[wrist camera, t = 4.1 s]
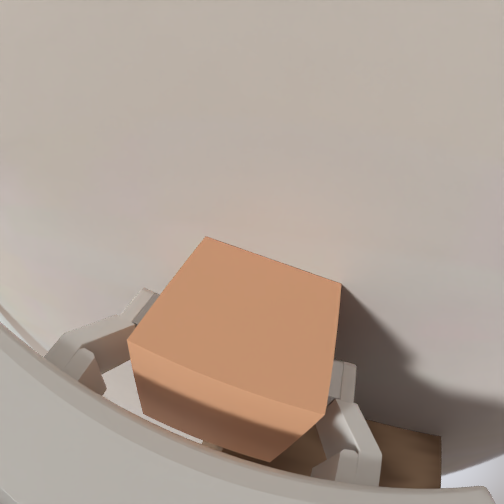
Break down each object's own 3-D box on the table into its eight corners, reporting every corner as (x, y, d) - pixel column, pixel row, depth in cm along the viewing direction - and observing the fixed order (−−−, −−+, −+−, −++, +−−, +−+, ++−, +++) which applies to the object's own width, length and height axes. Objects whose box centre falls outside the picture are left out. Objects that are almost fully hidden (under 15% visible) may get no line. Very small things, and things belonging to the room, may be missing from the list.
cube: (341, 284, 10) (325, 414, 6) (296, 362, 13) (269, 462, 9) (205, 236, 11) (126, 339, 7) (194, 324, 14) (143, 413, 10)
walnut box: (440, 433, 15) (435, 539, 8) (336, 479, 23) (320, 547, 17) (250, 375, 15) (196, 513, 9) (203, 438, 24) (171, 510, 17)
